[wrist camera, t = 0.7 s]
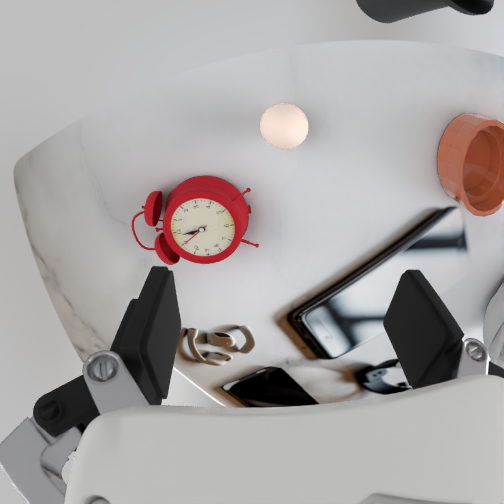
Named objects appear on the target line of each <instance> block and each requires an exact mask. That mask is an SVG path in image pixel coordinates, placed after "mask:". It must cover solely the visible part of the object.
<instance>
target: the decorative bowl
mask: <svg viewBox="0 0 504 504" xmlns="http://www.w3.org/2000/svg"><path fill="white" fill-rule="evenodd" d="M483 338H484V344H485V347H486V348H487V350H488V353H489V357H490V358H491V361H490V362H492V363H494V364H496V365H498V366H500V367H502V368H503V369H504V282H503V283H502V285H501V286H500V287H499V289H498V290H497V292H496V294H495V295H494V296H493V297H492V299H491V300H490V302H489V304H488V307H487V309H486V313H485V317H484V323H483Z"/></svg>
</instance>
